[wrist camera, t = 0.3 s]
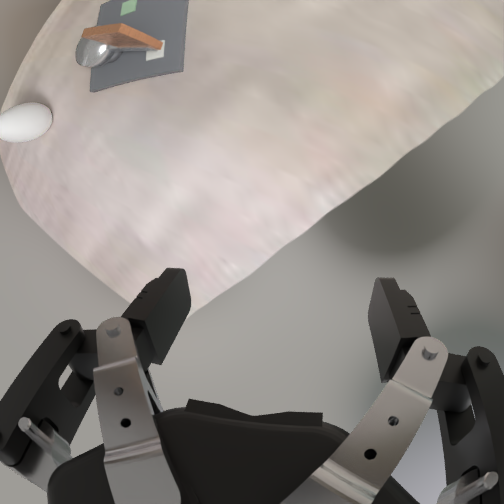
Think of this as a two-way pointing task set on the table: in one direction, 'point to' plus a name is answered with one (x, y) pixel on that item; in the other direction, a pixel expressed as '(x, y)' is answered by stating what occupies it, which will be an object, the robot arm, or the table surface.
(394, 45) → the table surface
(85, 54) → the twist collar
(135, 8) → the lock base
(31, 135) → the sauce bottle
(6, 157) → the table surface
